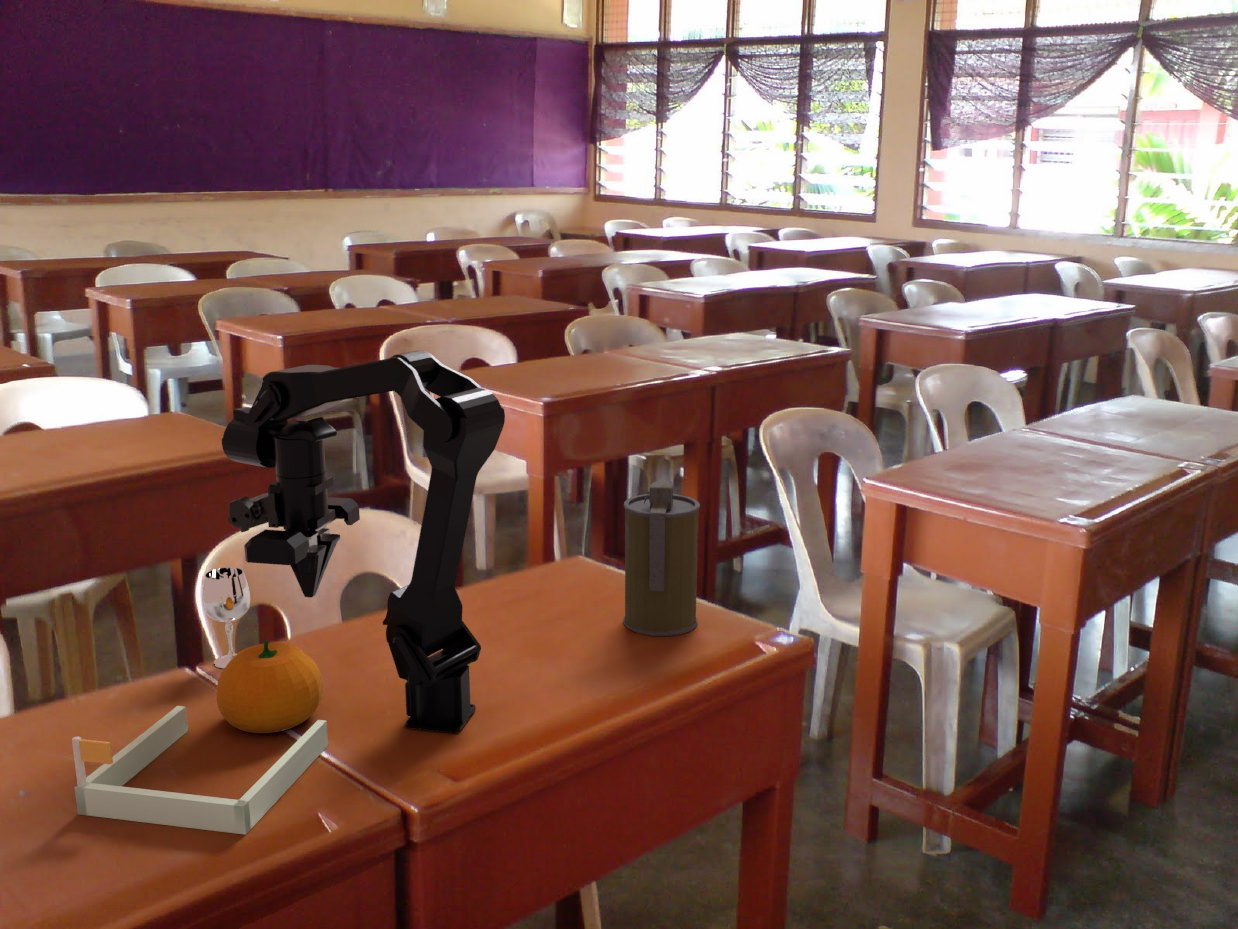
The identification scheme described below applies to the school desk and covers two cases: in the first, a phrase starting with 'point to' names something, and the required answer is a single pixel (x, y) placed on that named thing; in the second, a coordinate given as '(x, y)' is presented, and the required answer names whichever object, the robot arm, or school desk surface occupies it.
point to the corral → (177, 809)
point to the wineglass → (226, 601)
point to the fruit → (269, 688)
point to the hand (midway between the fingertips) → (309, 596)
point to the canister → (661, 562)
